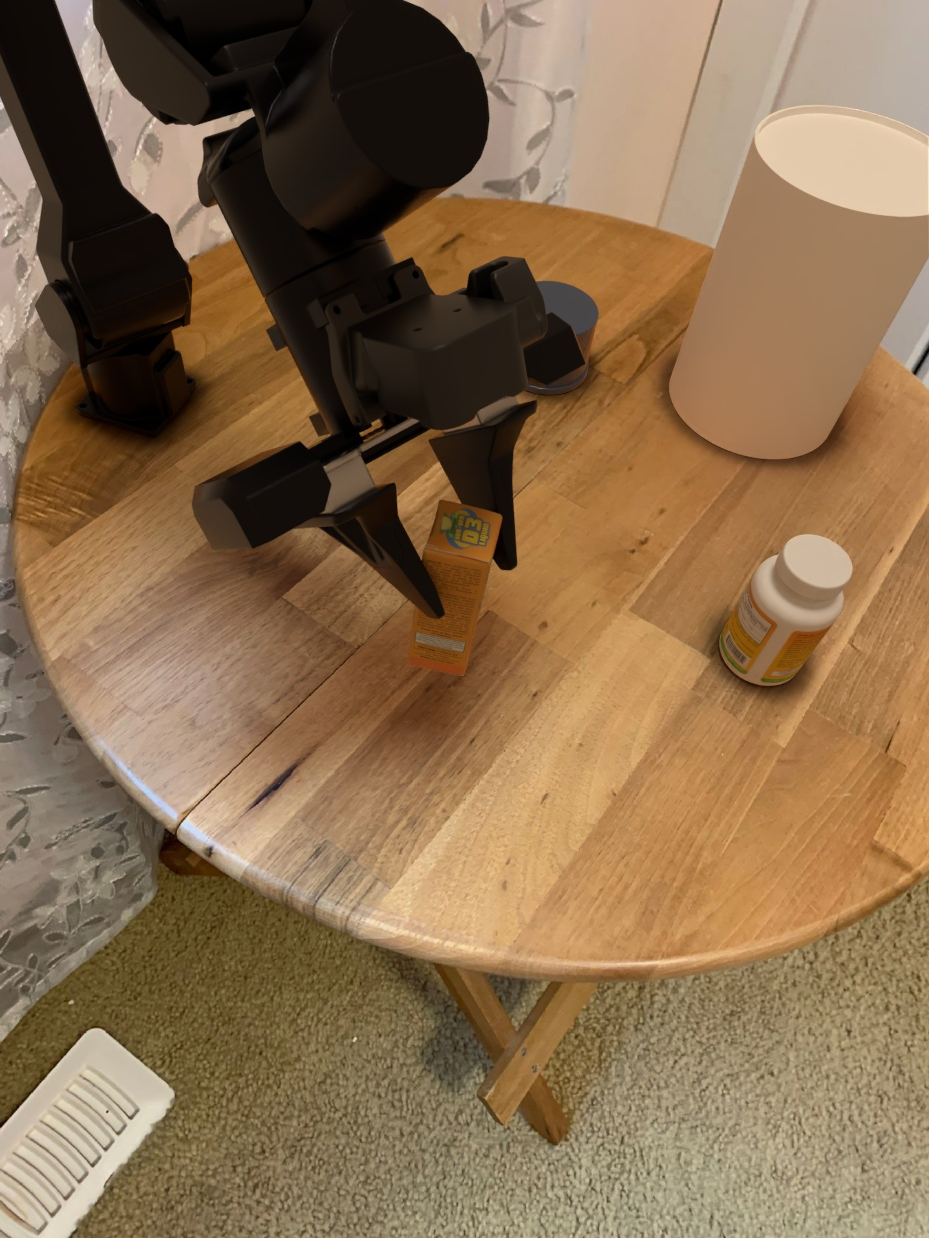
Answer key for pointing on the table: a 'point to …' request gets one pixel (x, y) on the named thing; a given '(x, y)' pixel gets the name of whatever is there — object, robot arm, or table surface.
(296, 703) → the table surface
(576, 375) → the cup
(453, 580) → the supplement box
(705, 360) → the canister
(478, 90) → the robot arm
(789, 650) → the supplement bottle
